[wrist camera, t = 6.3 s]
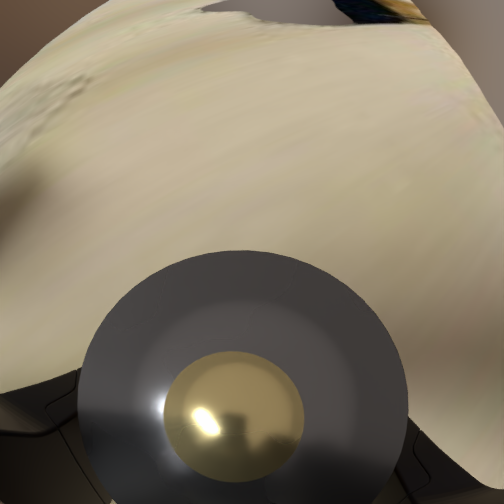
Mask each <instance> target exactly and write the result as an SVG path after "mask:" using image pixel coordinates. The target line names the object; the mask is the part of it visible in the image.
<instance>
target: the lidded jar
mask: <svg viewBox="0 0 504 504" xmlns="http://www.w3.org/2000/svg"><path fill="white" fill-rule="evenodd" d="M77 407H78V419H79V427H80V432H81V436H82V441H83V445H84V448H85V450H86V453H87V456H88V458H89V461H90V463H91V466H92V467H93V469H94V471H95V473H96V475H97V477H98V479H99V480H100V482H101V484H102V485H103V486H104V488H105V489H106V491H107V492H108V493H109V495H110V496H111V497H112V499H113V500H114V501H115V502H116V503H117V504H371V503H372V502H373V501H374V499H375V498H376V497H377V496H378V494H379V493H380V492H381V491H382V489H383V488H384V486H385V484H386V483H387V481H388V479H389V478H390V476H391V474H392V472H393V470H394V468H395V466H396V463H397V461H398V458H399V456H400V453H401V450H402V447H403V443H404V439H405V435H406V429H407V420H408V390H407V384H406V379H405V374H404V369H403V366H402V363H401V360H400V357H399V354H398V351H397V349H396V347H395V345H394V343H393V341H392V339H391V337H390V335H389V333H388V331H387V330H386V328H385V327H384V325H383V324H382V322H381V321H380V319H379V318H378V316H377V315H376V314H375V313H374V311H373V310H372V309H371V308H370V307H369V306H368V305H367V304H366V303H365V301H364V300H363V299H362V298H361V297H359V296H358V295H357V294H356V293H355V292H354V291H352V290H351V289H350V288H349V287H348V286H347V285H345V284H344V283H342V282H341V281H339V280H338V279H336V278H335V277H333V276H332V275H330V274H329V273H327V272H325V271H323V270H321V269H318V268H316V267H314V266H312V265H310V264H308V263H305V262H302V261H299V260H297V259H294V258H291V257H287V256H282V255H278V254H274V253H268V252H259V251H249V250H246V251H222V252H215V253H207V254H203V255H199V256H195V257H191V258H188V259H185V260H182V261H180V262H177V263H175V264H172V265H169V266H167V267H165V268H164V269H162V270H160V271H158V272H156V273H154V274H152V275H150V276H149V277H148V278H146V279H145V280H143V281H142V282H140V283H139V284H138V285H136V286H135V287H134V288H132V289H131V290H130V291H129V292H128V293H127V294H126V295H125V296H124V297H122V298H121V299H120V300H119V301H118V303H117V304H116V305H115V306H114V307H113V308H112V310H111V311H110V312H109V313H108V314H107V316H106V317H105V319H104V320H103V322H102V323H101V325H100V326H99V328H98V329H97V331H96V333H95V335H94V337H93V339H92V341H91V343H90V345H89V347H88V350H87V353H86V356H85V359H84V362H83V365H82V369H81V374H80V380H79V385H78V403H77Z"/></svg>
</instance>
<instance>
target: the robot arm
mask: <svg viewBox="0 0 504 504" xmlns="http://www.w3.org/2000/svg"><path fill="white" fill-rule="evenodd" d="M81 369H82V367H81V368H78V369H77V370H73V371H71V372H69V373H66V374H64V375H61V376H58V377H56V378H53V379H50V380H47V381H44V382H41V383H38V384H35V385H31V386H28V387H24V388H21V389H17V390H13V391H10V392H6V393H2V394H0V504H110V502H111V500H112V497H111V496H110V495H109V493H108V492H107V491H106V489H105V488H104V486H103V485H102V484H101V482H100V480H99V479H98V477H97V475H96V473H95V471H94V469H93V467H92V466H91V463H90V461H89V458H88V456H87V453H86V450H85V448H84V445H83V441H82V436H81V432H80V427H79V419H78V407H77V403H78V385H79V380H80V374H81ZM371 504H504V489H495V488H491V487H488V486H486V485H484V484H482V483H480V482H479V481H478V480H476V479H475V478H474V477H473V476H472V475H470V474H469V473H468V472H467V471H465V470H464V469H463V468H462V467H461V466H459V465H458V464H457V463H456V462H455V461H453V460H452V459H451V458H450V457H449V456H448V455H446V454H445V453H444V452H443V451H442V450H441V449H440V448H439V447H438V446H437V445H436V444H435V443H434V442H433V441H432V440H431V439H430V438H429V437H428V436H427V435H426V434H425V433H424V432H423V431H422V430H420V428H419V427H418V426H417V425H416V424H415V423H414V422H413V421H412V420H411V419H410V418H409V417H408V420H407V429H406V435H405V439H404V443H403V447H402V450H401V453H400V456H399V458H398V461H397V463H396V466H395V468H394V470H393V472H392V474H391V476H390V478H389V479H388V481H387V483H386V484H385V486H384V488H383V489H382V491H381V492H380V493H379V494H378V496H377V497H376V498H375V499H374V501H373V502H372V503H371Z"/></svg>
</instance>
